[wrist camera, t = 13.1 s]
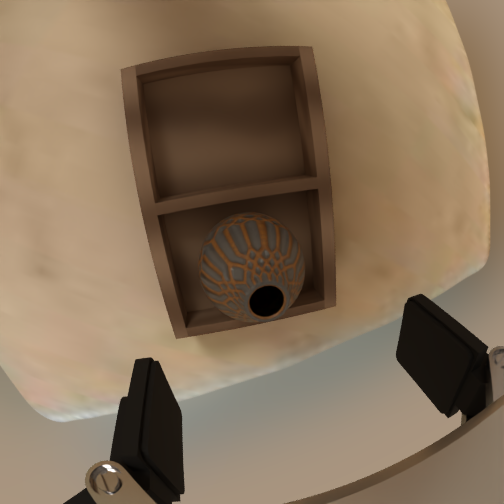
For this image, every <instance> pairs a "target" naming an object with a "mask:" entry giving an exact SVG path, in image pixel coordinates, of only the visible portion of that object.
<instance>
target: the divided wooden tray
mask: <svg viewBox="0 0 504 504" xmlns="http://www.w3.org/2000/svg"><path fill="white" fill-rule="evenodd" d="M121 78H122V89H123V99H124V108H125V116H126V124H127V132H128V139H129V145H130V152H131V158H132V164H133V170H134V175H135V181H136V186H137V191H138V197H139V201H140V206H141V211H142V216H143V220H144V225H145V229H146V233H147V238H148V242H149V246H150V250H151V254H152V258H153V262H154V266H155V270H156V273H157V277H158V281H159V284H160V288H161V291H162V295H163V298H164V302H165V305H166V308H167V312H168V315H169V318H170V321H171V324H172V328H173V331H174V334H175V337H176V339H178V338H185V337H191V336H197V335H203V334H209V333H214V332H220V331H225V330H231V329H236V328H241V327H246V326H251V325H256V324H261V323H265V322H244V321H239V320H236V319H233V318H231V317H229V316H227V315H225V314H224V313H222V312H221V311H220V310H219V309H218V308H216V307H215V306H214V304H213V303H212V302H211V301H210V300H209V298H208V297H207V295H206V293H205V292H204V290H203V287H202V285H201V282H200V278H199V271H198V261H199V254H200V250H201V247H202V244H203V242H204V239H205V238H206V236H207V235H208V233H209V232H210V231H211V229H212V228H213V227H214V226H215V225H217V224H218V223H219V222H220V221H222V220H223V219H225V218H227V217H229V216H232V215H235V214H238V213H245V212H256V213H261V214H265V215H268V216H270V217H272V218H274V219H276V220H278V221H279V222H281V223H282V224H284V225H285V226H286V227H287V228H288V229H289V230H290V231H291V232H292V233H293V235H294V236H295V237H296V239H297V241H298V243H299V245H300V247H301V250H302V253H303V256H304V262H305V277H304V282H303V286H302V289H301V291H300V294H299V295H298V297H297V299H296V300H295V302H294V303H293V304H292V305H291V306H290V307H289V308H288V309H287V310H286V312H285V313H284V314H283V315H282V316H281V317H279V318H278V319H276V320H279V319H284V318H288V317H293V316H297V315H301V314H305V313H310V312H314V311H318V310H322V309H326V308H330V307H334V306H336V267H335V238H334V219H333V203H332V190H331V178H330V167H329V157H328V148H327V139H326V131H325V123H324V116H323V108H322V101H321V95H320V88H319V82H318V76H317V70H316V65H315V59H314V54H313V49H312V47H307V46H269V47H248V48H235V49H224V50H215V51H207V52H200V53H193V54H187V55H181V56H176V57H171V58H165V59H161V60H156V61H152V62H147V63H143V64H139V65H135V66H131V67H127V68H124V69H121ZM273 321H275V320H273Z"/></svg>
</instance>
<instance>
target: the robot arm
mask: <svg viewBox="0 0 504 504" xmlns="http://www.w3.org/2000/svg"><path fill="white" fill-rule="evenodd" d="M487 349H488V346H486V345H485V344H484V343H483V342H482V341H481V340H479V339H478V338H477V337H476V336H475V335H473V334H472V333H471V332H470V331H468V330H467V329H466V328H465V327H464V326H463V325H461V324H460V323H459V322H458V321H456V320H455V319H454V318H452V317H451V316H450V315H449V314H448V313H446V312H445V311H444V310H442V309H441V308H440V307H439V306H437V305H436V304H435V303H434V302H432V301H431V300H430V299H428V298H427V297H426V296H424V295H423V294H418V295H416V296H413V297H410V298H408V300H407V303H406V304H405V306H404V313H403V319H402V325H401V330H400V336H399V341H398V346H397V351H396V358H397V361H398V362H399V363H400V364H401V366H402V367H403V368H404V369H405V370H406V371H407V373H408V374H409V375H410V376H411V377H412V378H413V380H414V381H415V382H416V383H417V384H418V386H419V387H420V388H421V389H422V391H423V392H424V393H425V394H426V396H427V397H428V398H429V399H430V400H431V402H432V403H433V404H434V405H435V406H436V408H437V409H438V410H439V411H440V412H441V413H444V414H445V415H446V416H447V417H448V418H449V417H451V416H452V415H454V414H455V413H457V412H458V411H459V410H460V411H461V412H462V418H461V426H460V427H459V428H457V429H455V430H454V431H452V432H451V433H449V434H448V435H446V436H445V437H443V438H441V439H440V440H438V441H436V442H435V443H433V444H432V445H430V446H428V447H426V448H424V449H423V450H421V451H419V452H417V453H415V454H414V455H412V456H410V457H408V458H406V459H404V460H402V461H400V462H398V463H396V464H394V465H392V466H390V467H388V468H386V469H383V470H381V471H379V472H377V473H374V474H372V475H370V476H367V477H365V478H362V479H360V480H357V481H355V482H352V483H350V484H347V485H344V486H342V487H339V488H336V489H333V490H330V491H327V492H324V493H321V494H318V495H314V496H311V497H307V498H304V499H301V500H296V501H293V502H289V503H284V504H504V347H503V346H498V347H495V348H493V349H492V350H491V351H490V353H489V354H487V353H486V352H487ZM85 485H86V488H85V489H84V490H82V491H81V492H80V493H78V494H77V495H75V496H74V497H72V498H71V499H69V500H68V501H66V502H65V503H63V504H172V502H176V501H180V494H184V491H185V490H184V489H185V488H184V471H183V442H182V414H181V410H180V407H179V405H178V403H177V401H176V399H175V397H174V395H173V392H172V390H171V388H170V386H169V384H168V381H167V379H166V377H165V375H164V372H163V370H162V368H161V365H160V363H159V361H154V360H153V359H152V358H151V357H150V358H142V359H136V360H135V363H134V368H133V373H132V377H131V382H130V387H129V392H128V396H127V397H122V398H121V401H120V405H119V410H118V415H117V420H116V426H115V431H114V437H113V443H112V449H111V456H110V461H101V462H98V463H96V464H94V465H93V466H92V467H91V468H90V469H89V470H88V472H87V473H86V477H85Z"/></svg>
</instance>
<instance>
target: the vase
mask: <svg viewBox="0 0 504 504" xmlns="http://www.w3.org/2000/svg"><path fill="white" fill-rule="evenodd" d="M198 271H199V278H200V282H201V285H202V287H203V290H204V292H205V293H206V295H207V297H208V298H209V300H210V301H211V302H212V303H213V304H214V306H215V307H216V308H218V309H219V310H220V311H221V312H222V313H224V314H225V315H227V316H229V317H231V318H233V319H236V320H239V321H244V322H270V321H273V320H276V319H278V318H279V317H281V316H282V315H283V314H284V313H285V312H286V310H287V309H288V308H289V307H290V306H291V305H292V304H293V303H294V302H295V300H296V299H297V297H298V295H299V294H300V291H301V289H302V286H303V282H304V277H305V262H304V256H303V253H302V250H301V247H300V245H299V243H298V241H297V239H296V237H295V236H294V235H293V233H292V232H291V231H290V230H289V229H288V228H287V227H286V226H285V225H284V224H282V223H281V222H279V221H278V220H276V219H274V218H272V217H270V216H268V215H265V214H261V213H256V212H245V213H238V214H235V215H232V216H229V217H227V218H225V219H223V220H222V221H220V222H219V223H218V224H217V225H215V226H214V227H213V228H212V229H211V231H210V232H209V233H208V235H207V236H206V238H205V239H204V242H203V244H202V247H201V250H200V254H199V261H198Z"/></svg>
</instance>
